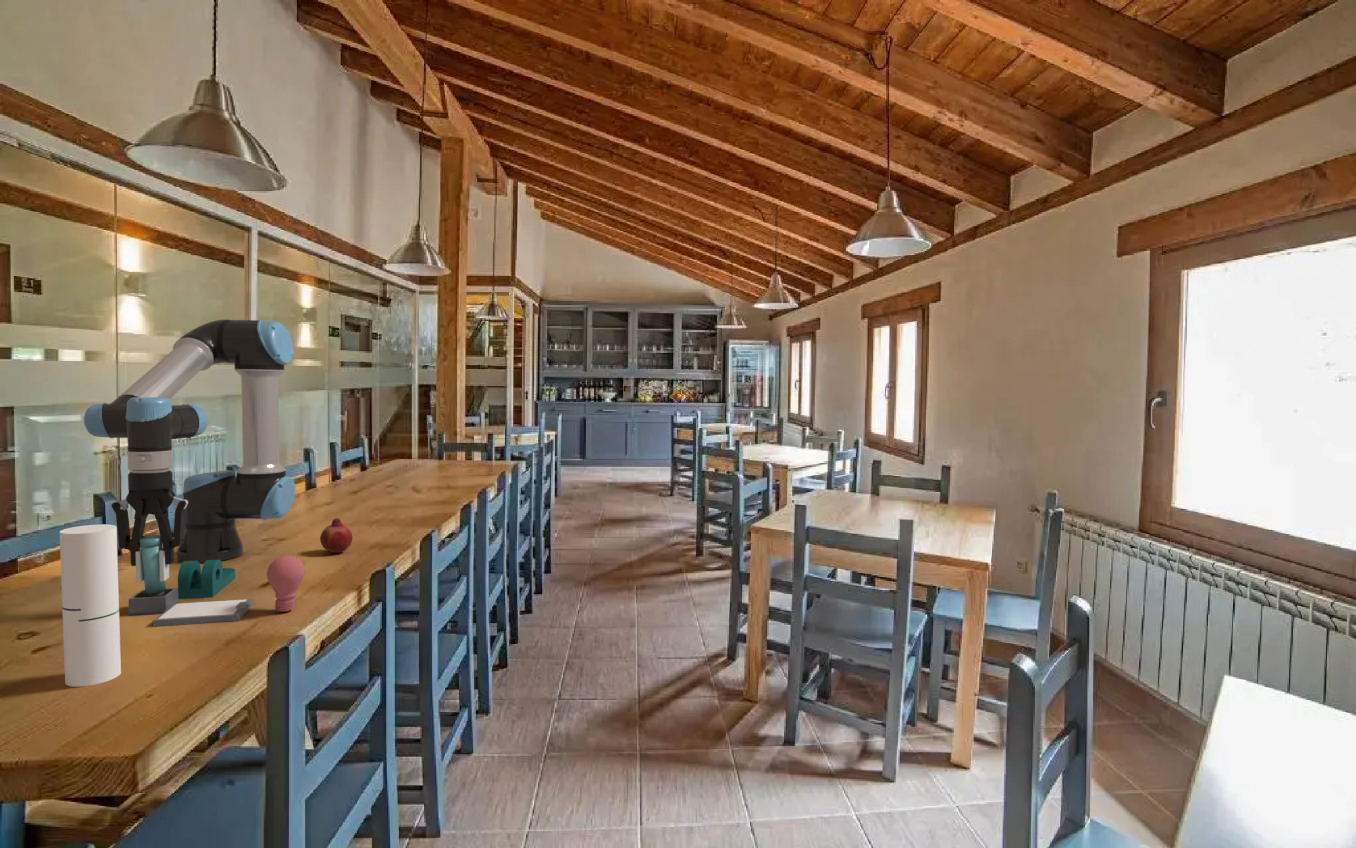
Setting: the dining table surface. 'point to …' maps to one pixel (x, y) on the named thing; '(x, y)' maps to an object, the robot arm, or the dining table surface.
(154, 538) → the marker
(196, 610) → the clipboard
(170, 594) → the pen holder
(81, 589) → the cylindrical container
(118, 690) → the dining table surface
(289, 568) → the light bulb
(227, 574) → the bracket
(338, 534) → the fruit
